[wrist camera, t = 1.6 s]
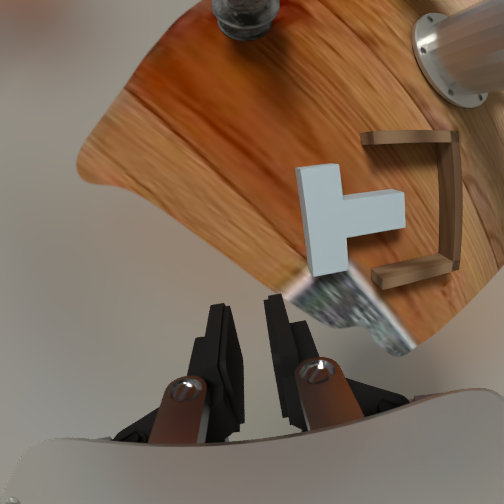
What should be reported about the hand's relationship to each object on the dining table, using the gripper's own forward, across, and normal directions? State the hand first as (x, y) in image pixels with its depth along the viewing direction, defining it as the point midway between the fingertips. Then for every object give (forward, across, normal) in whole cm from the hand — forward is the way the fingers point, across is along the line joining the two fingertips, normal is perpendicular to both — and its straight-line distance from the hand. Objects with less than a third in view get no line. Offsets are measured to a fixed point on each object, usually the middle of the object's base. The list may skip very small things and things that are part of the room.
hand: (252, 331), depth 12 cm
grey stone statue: (+17, -4, -21) cm, 27 cm away
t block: (+17, -10, 0) cm, 20 cm away
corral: (+17, -18, 0) cm, 25 cm away
